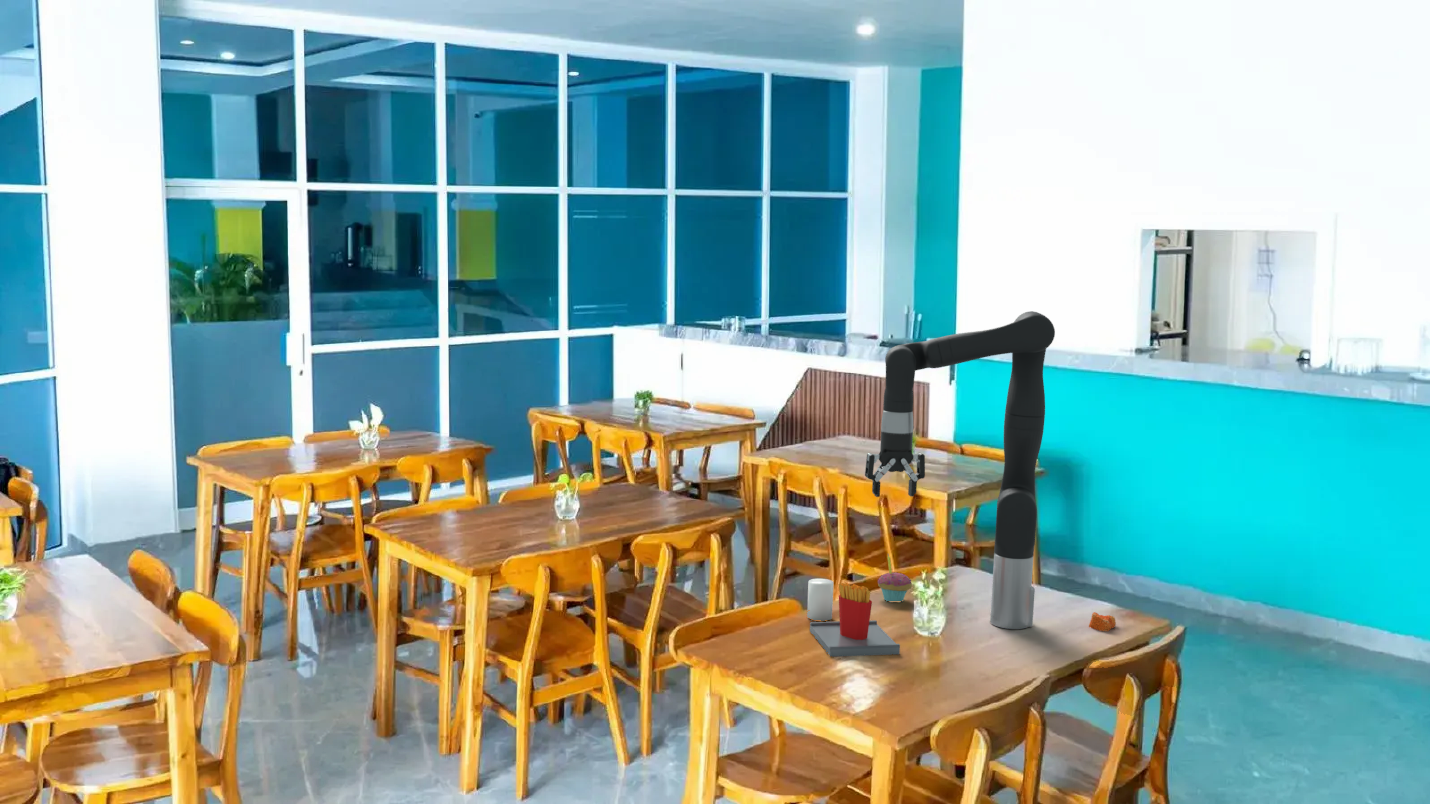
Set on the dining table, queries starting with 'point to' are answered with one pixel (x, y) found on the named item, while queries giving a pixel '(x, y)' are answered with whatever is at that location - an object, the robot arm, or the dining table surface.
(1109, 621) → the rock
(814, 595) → the white rounded cylinder
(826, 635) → the slate board
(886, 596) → the cupcake
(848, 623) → the french fries
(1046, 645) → the dining table surface
